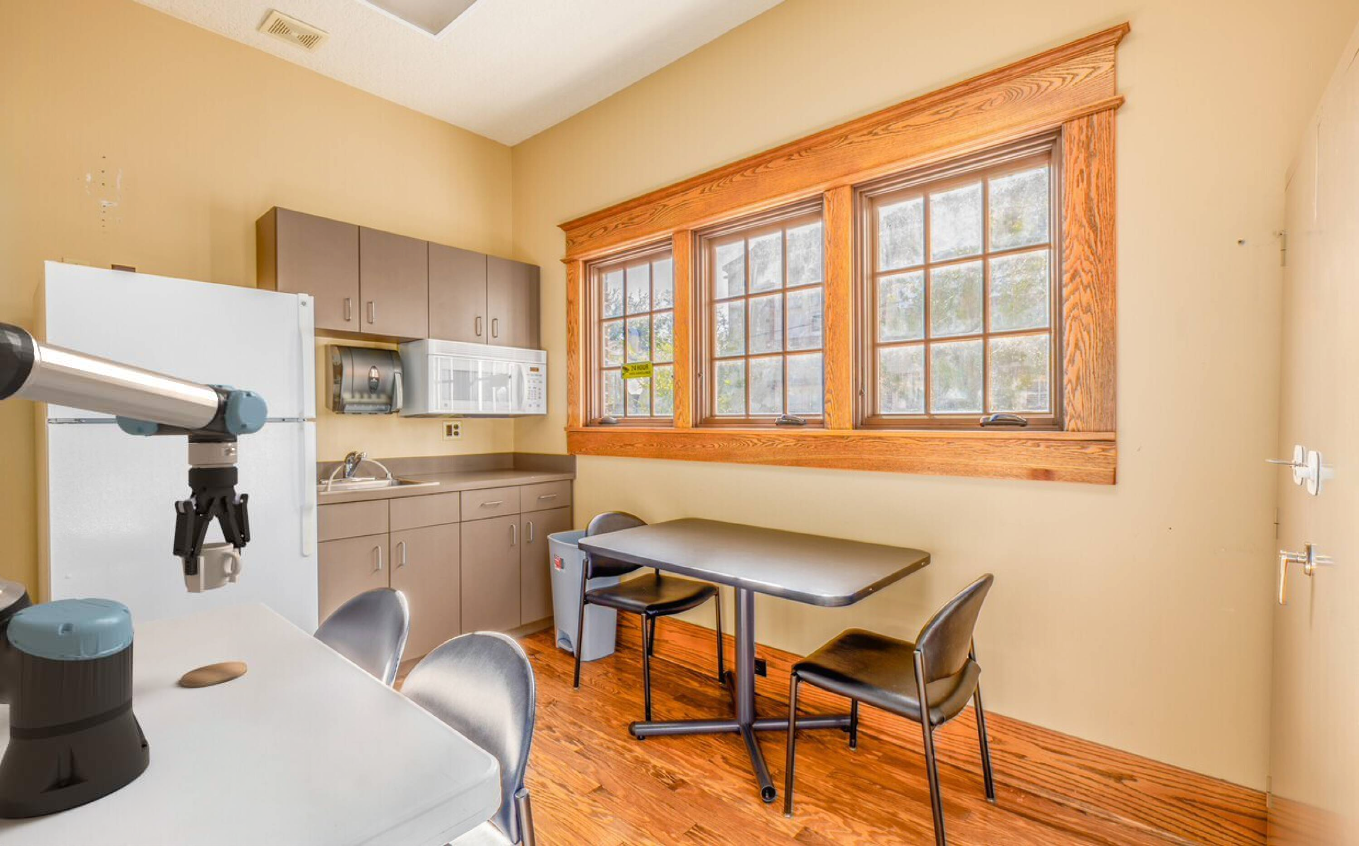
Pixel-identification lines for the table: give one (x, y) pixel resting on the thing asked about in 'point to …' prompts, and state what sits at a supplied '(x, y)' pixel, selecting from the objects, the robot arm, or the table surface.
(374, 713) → the table surface
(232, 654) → the table surface
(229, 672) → the coaster
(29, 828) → the table surface
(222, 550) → the cup
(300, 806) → the table surface
